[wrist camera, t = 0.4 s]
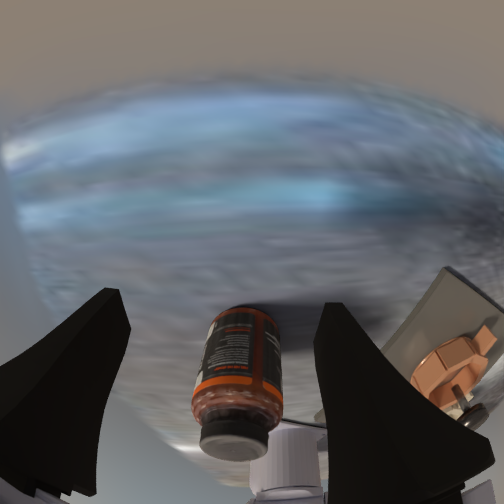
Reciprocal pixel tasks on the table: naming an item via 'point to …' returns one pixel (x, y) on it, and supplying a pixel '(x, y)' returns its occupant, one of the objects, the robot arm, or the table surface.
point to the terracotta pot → (453, 367)
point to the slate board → (442, 325)
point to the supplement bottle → (239, 385)
